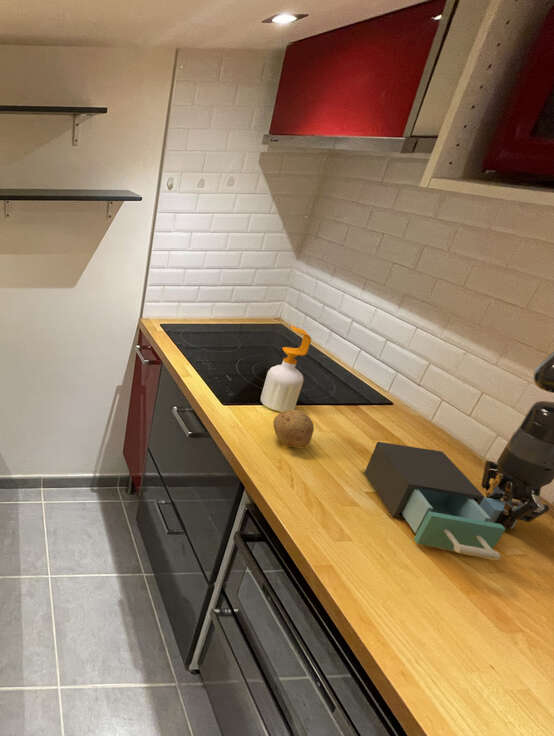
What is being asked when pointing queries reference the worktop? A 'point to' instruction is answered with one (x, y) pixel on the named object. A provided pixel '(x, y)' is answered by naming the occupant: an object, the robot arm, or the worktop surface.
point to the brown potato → (293, 428)
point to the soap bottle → (285, 378)
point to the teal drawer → (451, 523)
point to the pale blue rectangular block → (494, 508)
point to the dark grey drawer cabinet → (414, 475)
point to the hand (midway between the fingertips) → (493, 519)
